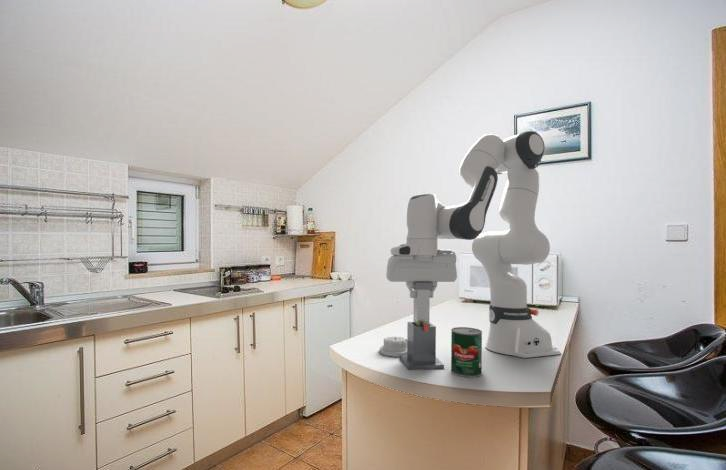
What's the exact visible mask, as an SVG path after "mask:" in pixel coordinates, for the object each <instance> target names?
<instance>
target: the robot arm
mask: <svg viewBox="0 0 726 470" xmlns="http://www.w3.org/2000/svg"><path fill="white" fill-rule="evenodd" d="M545 149H546V148H545V141H544V140H543V137H542V136H541V135H540V134H539V133H538V132H536V131H534V130H530V131H524V132H520V133H518V134H516V135H513V136H510V137H507V138H505V139H504V140H503V138H501V137H500V136H498V134H497V135H496V134H492V133H486V134H483V135H482V136H481V137H479V138H478V139H477V141H475V142H474V144H472V146H471V147H470V149H469V150H468V151H467V153H466V154H465V156H464V157H463V159H462V160H461V163H460V166H459V169H458V170H459V176H460V177H461V180H462V181H463V182H464V183H465V184H466V185H467V186H469V187H471V188H473V189H472V191H471V193H470V195H469V198H468V199H467V201H465V202H464V203H461V204H458V205H457V204H456V205H451V206H446V205H444V204H443V203H441V202H440V201H439V200H438V199H437V198H436V197H437V196H436V194H434V193H422V194H417V195H413V196H411V197H410V198H409V200H408V203H407V210H406V227H407V235H406V243H404V244H400V245H398V246H393V247H392V248H391V249H390V254H391V256H390V257H389V258H388V260H387V266H386V273H385V274H386V279H387V280H388V281H389V282H392V283H394V282H395V283H396V282H398V283H399V282H401V283H402V282H405V286H406V287H407V290H408V291H409V298H410V299H411V298H412V299H414V298H416V291H414V289H413V288H411V286H412V285H413V282H433V290H430V299H433V298H434V292H435V290H436V289H437V287H438V283H446V282H447V283H451V282H452V283H454V282H456V280H457V279H458V275H457V274H458V272H457V265H456V263H457V254H456V252H454V251H453V250H451V249H438V239H440V240H443V239H444V240H455V239H456V240H458V239H459V240H467V241H468V240H469V241H471V240H472V243H471V250H472V254H473V256H474V258H475V259H476V260H477V261H479V262H480V263H481V265H482V266H483V268H484V269H485V271H486V273H487V277H488V281H489V292H490V304H489V307H488V309H489V311H488V318H489V321H488V322H489V329H488V337H487V340H486V343H485V348H486V349H487V350H489V351H492V352H494V353H498V354H503V355H508V356H509V355H510V356H514V357H517V358H523V359H525V358H527V359H528V358H529V359H530V358H536V357H537V358H538V357H545V356H546V357H547V356H554V355H557V356H558V355H561V350H560V349H559V348H558V347H556V346H554V345H553V342H552V337H551V333H550V332H549V331H548V330H547V329H545V327H543V326H542V325H540V324H539V323H538V322H536V321H535V320H534V319H533V316H537V317H538V315H539V314H540V313H539V310H538V309H536V308H530V307H528V303H527V302H528V300H527V299H528V298H527V297H528V296H527V295H528V291H527V289H528V287H527V283H526V281H525V280H524V279H523V278H522V277H520V276H519V275H517V274H516V272H514V270H513V267H512V265H524V266H526V265H534V264H540V263H543V262H544V261H546V259H547V258H548V256H549V255H550V249H551V245H550V241H549V239H548V238H547V236H546V235H545V234H544V233H543V232H542V231H540V230H539V228H538V227H537V225H536V221H535V216H536V215H535V214H536V207H537V203H538V198H539V194H540V193H539V191H540V173H539V171H538V170H537V169H536V168H538V167H539V166H540V164H541V162H542V159H543V157H544V152H545ZM503 173H504V174H505V173H506V175H507V181H506V183H505V185H504V186H505V187H504V190H503V192H502V193H503V194H502V196H501V197H502V198H501V202H500V206H499V209H498V212H499V216H500V217H501V219H502V220H503V221H504V222H506V223H507V224H509V228H508V229H507V230H503V231H501V230H498V231H497V230H496V231H487V232H484V233H482V232H483V230H484V227H485V225H486V216H487V213H488V211H489V207H490V204H491V202H492V199H493V196H494V194H495V192H496V188H497V185H498V177H499V176H498V175H501V174H503Z"/></svg>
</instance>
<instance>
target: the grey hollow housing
mask: <svg viewBox="0 0 726 470" xmlns="http://www.w3.org/2000/svg"><path fill="white" fill-rule="evenodd" d="M436 329H437V327H436V325H435V324H432V323H431V322H430V321H429V326H428V323H422V326H415V325H414V324H413V321H407V331H406V332H407V336H406V337H407V338H406V339H407V355H400V357H399V359H400V361H401V362H402V363H403V365H404V366H405V367H406V368H407V370H409V371H411V370H413V371H415V370H438V369H439V370H442V369H445V364H444V363H443V362H442V361H441V360H440V359H438V358H437V357H436V356H437V354H436V353H437V351H436V349H437V345H436V344H437V343H436V342H437V337H436V336H437V333H436V332H437V330H436Z"/></svg>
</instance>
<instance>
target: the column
mask: <svg viewBox="0 0 726 470" xmlns="http://www.w3.org/2000/svg"><path fill="white" fill-rule="evenodd" d="M411 288H412V289H413V291H416V298H413V319H412V320H413V321H412V322H413V324H414V325H415V326H422V323H428V326H429V322H430V306H431V305H430V304H431V303H430V299H431V298H430V290H433V282H413V285H412V286H411Z"/></svg>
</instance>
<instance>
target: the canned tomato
mask: <svg viewBox="0 0 726 470" xmlns="http://www.w3.org/2000/svg"><path fill="white" fill-rule="evenodd" d="M450 330H451V333H450V334H451V336H450V337H451V340H450V341H451V342H450V343H451V345H450V347H451V349H450V351H451V352H450V353H451V354H450V355H451V356H450V357H451V358H450V359H451V360H450V365H451V366H450V371H451V373H452V374H454V375H457V376H459V377H463V378H477V377H478V378H479V377H480V376H481V375H482V374H483V372H482V369H483V368H482V367H483V365H482V364H483V362H482V358H483V356H482V355H483V352H482V351H483V341H482V340H483V336H482V335H483V331H482V330H481V329H479V328H473V327H468V326H467V327H466V326H464V327H463V326H459V327H458V326H457V327H452V328H451V329H450Z"/></svg>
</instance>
